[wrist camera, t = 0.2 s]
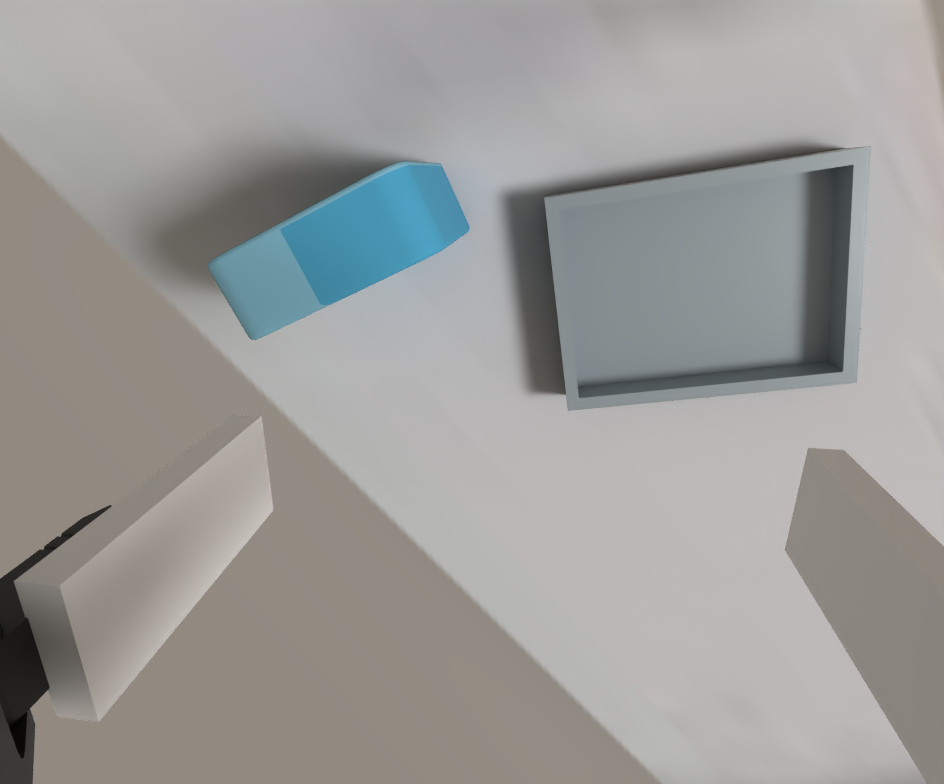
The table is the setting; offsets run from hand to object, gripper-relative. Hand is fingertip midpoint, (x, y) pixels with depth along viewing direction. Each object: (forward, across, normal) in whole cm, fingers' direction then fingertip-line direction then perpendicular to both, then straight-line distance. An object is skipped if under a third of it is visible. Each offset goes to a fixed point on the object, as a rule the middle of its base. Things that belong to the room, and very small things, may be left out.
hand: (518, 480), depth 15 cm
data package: (+28, -11, +3) cm, 30 cm away
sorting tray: (+27, +10, 0) cm, 29 cm away
